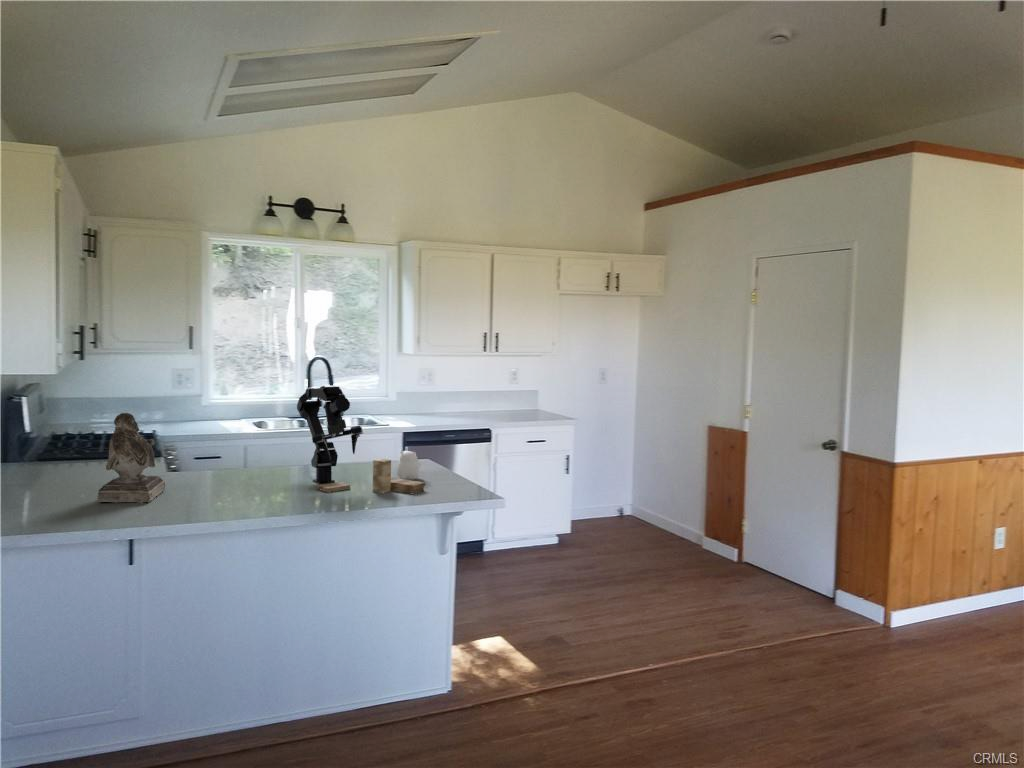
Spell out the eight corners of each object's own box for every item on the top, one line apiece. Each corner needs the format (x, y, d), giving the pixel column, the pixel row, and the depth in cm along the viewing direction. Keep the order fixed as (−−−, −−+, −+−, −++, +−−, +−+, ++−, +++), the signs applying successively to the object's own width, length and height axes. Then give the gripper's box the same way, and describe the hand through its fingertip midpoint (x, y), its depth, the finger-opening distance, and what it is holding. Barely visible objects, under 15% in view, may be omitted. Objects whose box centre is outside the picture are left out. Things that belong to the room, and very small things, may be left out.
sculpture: (149, 503, 255) (148, 416, 253) (96, 504, 252) (95, 416, 250) (165, 491, 273) (164, 410, 271) (116, 491, 271) (115, 409, 268)
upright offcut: (372, 491, 283) (373, 460, 282) (380, 489, 287) (380, 458, 286) (383, 493, 281) (383, 461, 280) (390, 491, 285) (391, 460, 284)
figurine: (415, 483, 300) (416, 453, 299) (392, 481, 302) (393, 452, 301) (423, 478, 310) (423, 449, 309) (401, 476, 312) (401, 448, 311)
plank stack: (376, 488, 288) (377, 480, 288) (388, 485, 295) (388, 477, 294) (413, 494, 280) (413, 485, 280) (424, 490, 287) (425, 482, 286)
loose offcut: (317, 489, 284) (317, 485, 283) (340, 485, 291) (340, 481, 290) (326, 492, 279) (326, 488, 279) (349, 489, 286) (350, 484, 286)
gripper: (306, 419, 279) (313, 460, 276) (355, 409, 281) (363, 449, 279) (311, 423, 290) (318, 462, 287) (359, 413, 292) (367, 452, 290)
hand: (341, 456), depth 285 cm, fingers open, 9 cm apart
